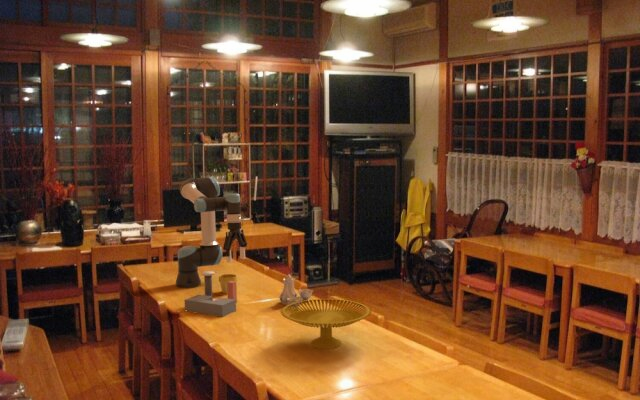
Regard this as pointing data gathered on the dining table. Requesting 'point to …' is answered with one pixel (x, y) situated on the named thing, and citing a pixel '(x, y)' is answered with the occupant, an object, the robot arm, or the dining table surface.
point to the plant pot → (224, 279)
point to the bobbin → (208, 282)
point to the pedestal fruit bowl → (325, 318)
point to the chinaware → (293, 292)
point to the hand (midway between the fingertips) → (236, 260)
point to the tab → (232, 290)
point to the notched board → (210, 305)
